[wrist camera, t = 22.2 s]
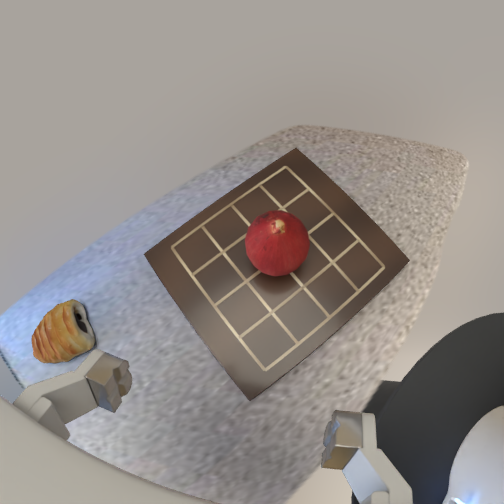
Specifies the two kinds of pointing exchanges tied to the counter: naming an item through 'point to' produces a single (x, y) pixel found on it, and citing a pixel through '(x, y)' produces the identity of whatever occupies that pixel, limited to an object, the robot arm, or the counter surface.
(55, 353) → the pastry
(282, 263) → the onion
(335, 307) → the grid board
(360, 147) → the counter surface
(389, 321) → the counter surface
